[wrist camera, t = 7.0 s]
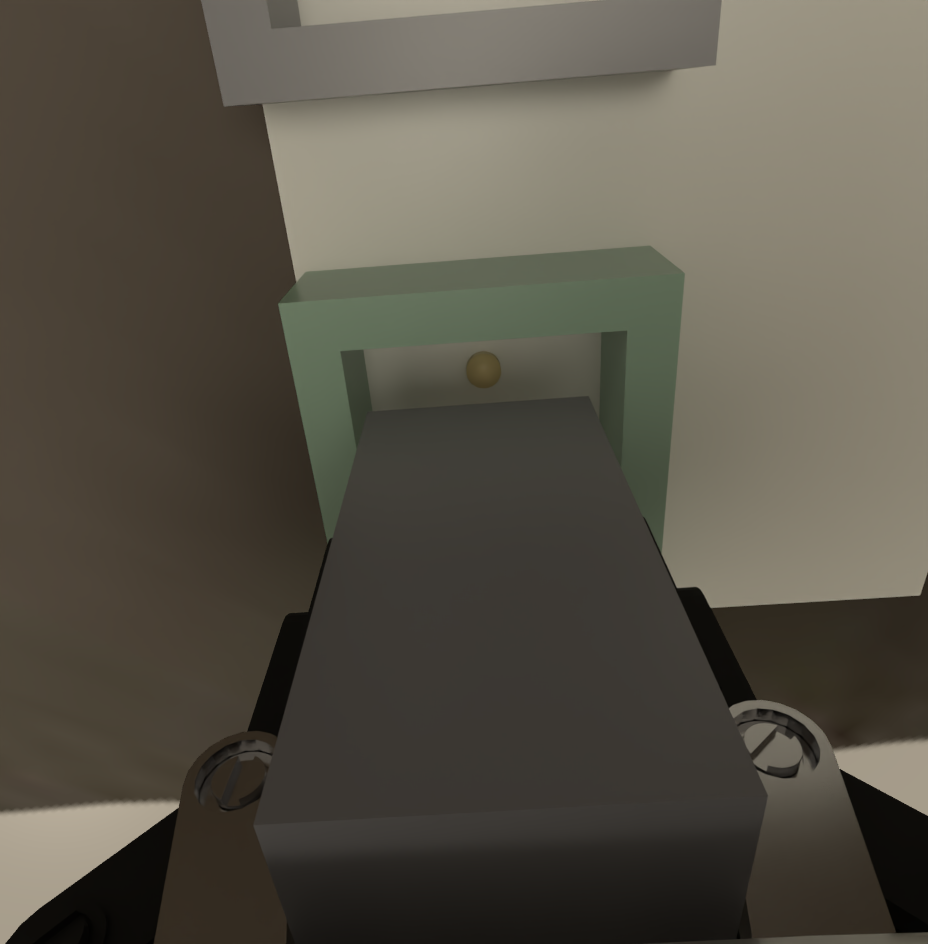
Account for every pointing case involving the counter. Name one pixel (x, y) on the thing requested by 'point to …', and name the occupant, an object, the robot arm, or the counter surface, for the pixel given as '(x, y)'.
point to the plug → (503, 705)
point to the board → (648, 234)
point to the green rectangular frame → (492, 318)
